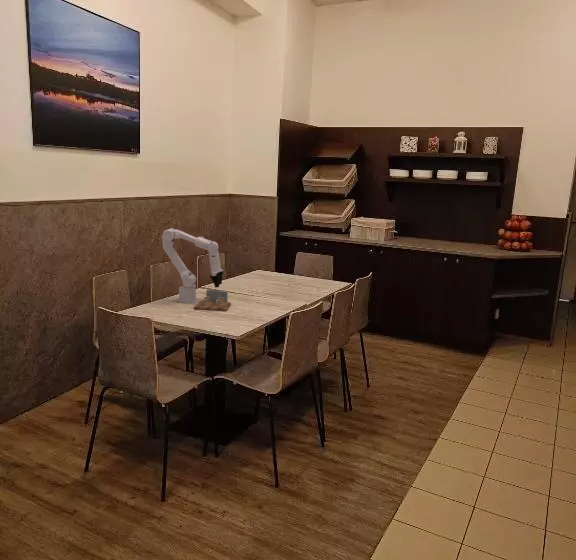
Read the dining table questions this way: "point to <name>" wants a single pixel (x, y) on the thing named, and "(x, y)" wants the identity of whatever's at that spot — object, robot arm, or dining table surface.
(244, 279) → the dining table surface
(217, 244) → the robot arm
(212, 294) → the grey block
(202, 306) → the cabinet base
